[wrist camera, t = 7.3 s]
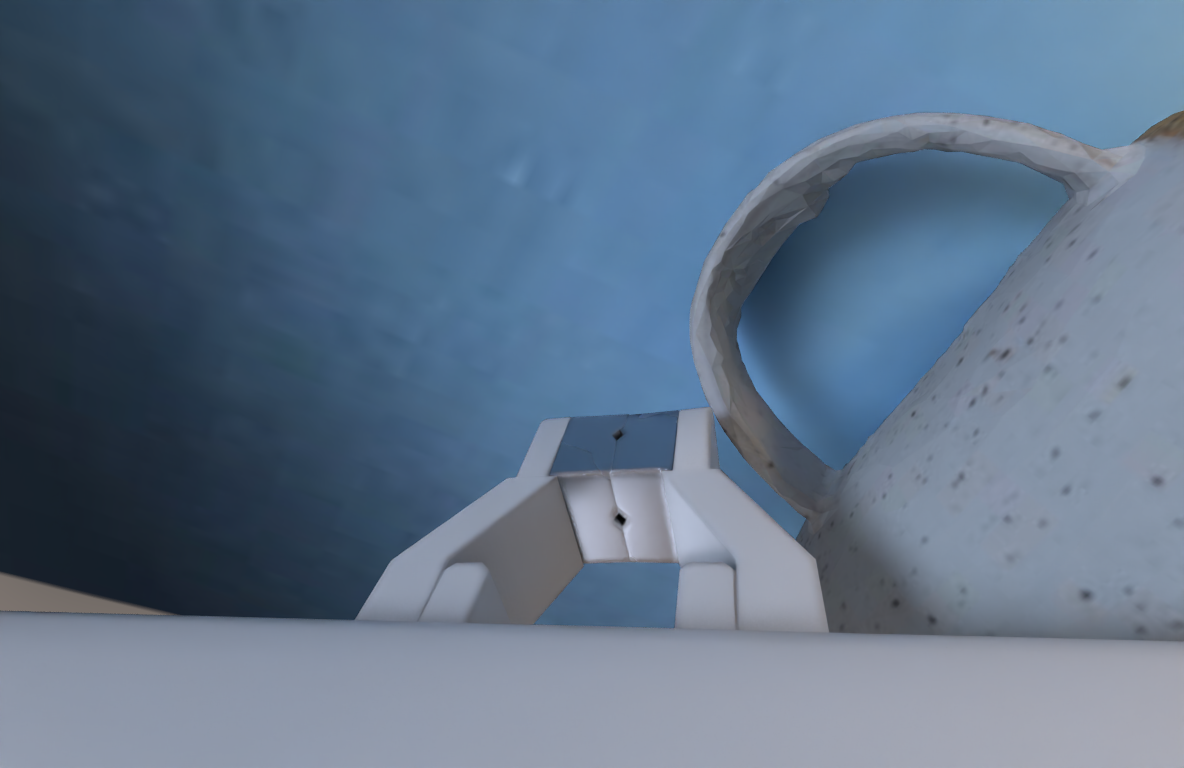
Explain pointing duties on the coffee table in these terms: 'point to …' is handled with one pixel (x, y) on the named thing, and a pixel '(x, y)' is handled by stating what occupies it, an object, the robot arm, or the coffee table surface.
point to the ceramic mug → (994, 404)
